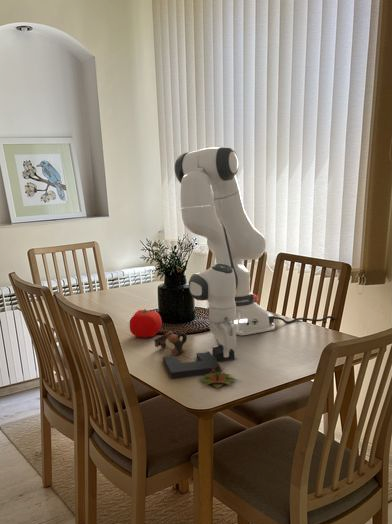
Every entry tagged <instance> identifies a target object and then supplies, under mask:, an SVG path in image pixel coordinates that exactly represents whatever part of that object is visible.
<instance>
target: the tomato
mask: <svg viewBox="0 0 392 524" xmlns="http://www.w3.org/2000/svg"><path fill="white" fill-rule="evenodd" d="M162 322H163V320H162V316H161V314H159V313H158V312H157V311H155V310H154V309H153V310H149V309H146V308H143V309H138V310H137V311H136V312H134V314H133V315H132V317H131V318H130V320H129V331H130V332H131V334H132V335H133V336H135V337H137V338H142V339H143V338H144V339H147V338H151V337H152V338H153V337H154V336H156V335H157V334H158V333H159V332H160V330H161V328H162V324H163V323H162Z"/></svg>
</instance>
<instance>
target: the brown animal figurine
mask: <svg viewBox="0 0 392 524" xmlns="http://www.w3.org/2000/svg"><path fill="white" fill-rule="evenodd" d="M181 337H182V340H181ZM167 340H168V342H169V343H171V344H172V345H173V346H174V347H173V348H172V349H171V350H170V352H171V353H172V356H177V355H178V354H180V353H182V352H183V351H184V350H183V346H184V345H185V343H187V340H188V336H187V334H186V333H185V332H183V331H180V332H178V333H173V331H172V330H169V331H168V332H166V333H164V334H163V335H161V336H159V337H156V338H155V339H153V342H154V347H156V348H157V349H158V348H159V347H160V346H161V348H163V349H165V347H166V346H167V343H166V341H167Z"/></svg>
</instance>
